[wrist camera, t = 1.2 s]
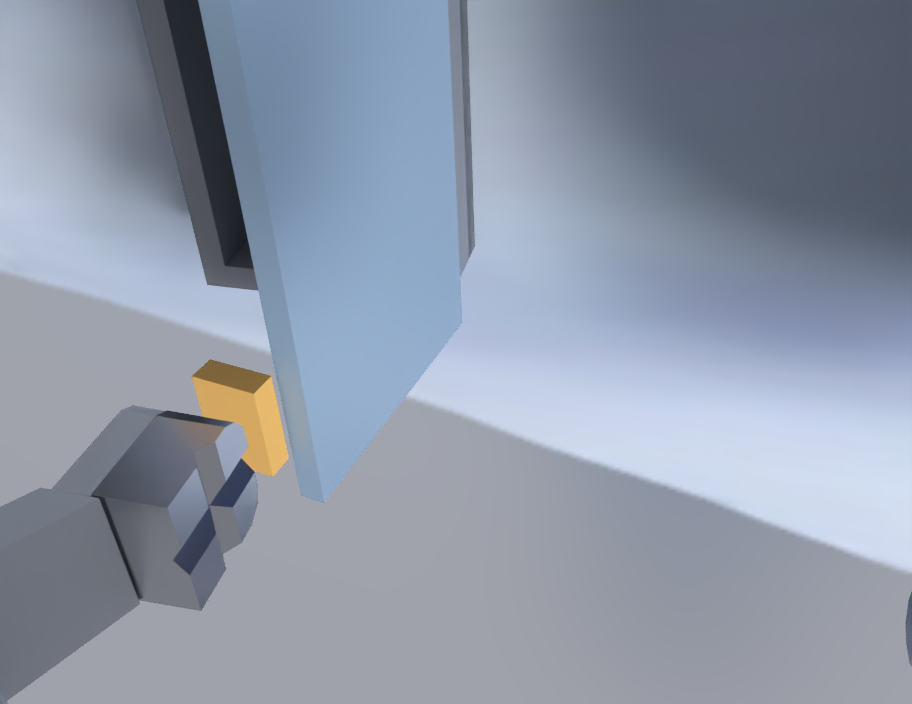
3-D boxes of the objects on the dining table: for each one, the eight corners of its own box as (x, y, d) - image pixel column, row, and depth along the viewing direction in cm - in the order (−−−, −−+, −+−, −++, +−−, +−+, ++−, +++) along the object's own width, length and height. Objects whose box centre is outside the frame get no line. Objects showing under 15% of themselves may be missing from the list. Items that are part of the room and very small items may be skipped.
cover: (-77, -574, 13) (67, -608, 12) (319, -479, 21) (425, -495, 20) (226, 499, 26) (305, 526, 25) (396, 307, 34) (462, 322, 33)
